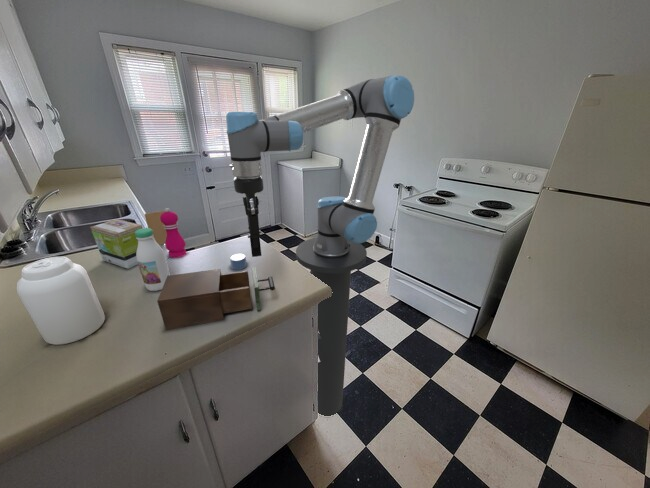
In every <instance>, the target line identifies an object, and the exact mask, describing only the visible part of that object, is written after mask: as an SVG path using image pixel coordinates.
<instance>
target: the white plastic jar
mask: <svg viewBox="0 0 650 488" xmlns="http://www.w3.org/2000/svg"><path fill="white" fill-rule="evenodd" d="M20 275H21V277H20V278H19V280H18V281H17V282H16V293H17V295H18V297H19V298H20V300H21V302H22V304H23V306H24V307H25V309H26V311H27V312H28V314H29V316H30V318H31V320H32V322H33V323H34V326H35V327H36V329H37V330H38V332H39V333H40V336H41V337H42V339H43V340H44V341H45V342H46V343H47V344H49V345H55V346H59V345H60V346H61V345H67V344H70V343H75V342H77V341H79V340H83V339H85V338H86V337H88V336H90V335H92V334H93V333H95V332H96V331H97V330H99V329H100V328H101V327H102V326H103V325H104V322H105V320H106V316H105V315H106V314H105V313H104V310H103V307H102V305H101V303H100V301H99V298H98V295H97V293H96V290H95V289H94V286H93V284H92V281H91V279H90V276H89V274H88V272H87V270H86V269H85V267H83V266H82V265H80V264H78V263H75V262H72V260H71V259H70V258H69V257H67V256H62V255H61V256H50V257H46V258H41V259H38V260H36V261H33V262H30V263H29V264H27V265H25V266H24V267H23V268H21V274H20Z"/></svg>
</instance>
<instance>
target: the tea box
mask: <svg viewBox="0 0 650 488" xmlns="http://www.w3.org/2000/svg"><path fill="white" fill-rule="evenodd" d="M89 228H90V232H91V234H92V236H93V239H94V241H95V244H96V247H97V248H98V251H99V254H100V256H101V257H100V258H101V259H102V261H104V262H106V263H110V264H113V265H116V266H118V267H122V268H124V269H127V270H129V269H131V268H134V267H135V266H139V265H138V261H137V257H136V252H137V248H138V239H136V236H135V231H137V230H139V229H143V225H142V224H139V223H135V222H131V221H127V220H123V219H119V218H114V219H112V220H109V221H105V222H103V223H99V224H96V225H92V226H89Z"/></svg>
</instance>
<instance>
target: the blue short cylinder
mask: <svg viewBox="0 0 650 488" xmlns="http://www.w3.org/2000/svg"><path fill="white" fill-rule="evenodd" d="M229 261H230V267H231V269H232V270H234V271H240V270H241V271H242V270H244V269H245V268H246V267H247V258H246V255H245V254H243V253H235V254H233V255H231V256H230V257H229Z"/></svg>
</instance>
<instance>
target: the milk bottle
mask: <svg viewBox="0 0 650 488" xmlns="http://www.w3.org/2000/svg"><path fill="white" fill-rule="evenodd" d="M142 228H143V227H142ZM135 236H136V239H138V248H137V252H136V257H137V261H138V265H137V266H138V268H139V272H140V274H141V277H142V280H143V284H144V287H145V289H146V290H148V291H151V292H155V291H156V292H158V291H161V290H162V288H163V286H164V283H165V281H166V278H167V276H169V275H171V273H170V268H169V265H168V262H167V258H166V254H165V252H164V250H163V248H162V246H161V245H159V244H158V243H157V242H156V241H155V239H154V238H153V236H154V235H153V231H152V229H150V228H148V227H144V228H143V229H139V230H137V231H135Z"/></svg>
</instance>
